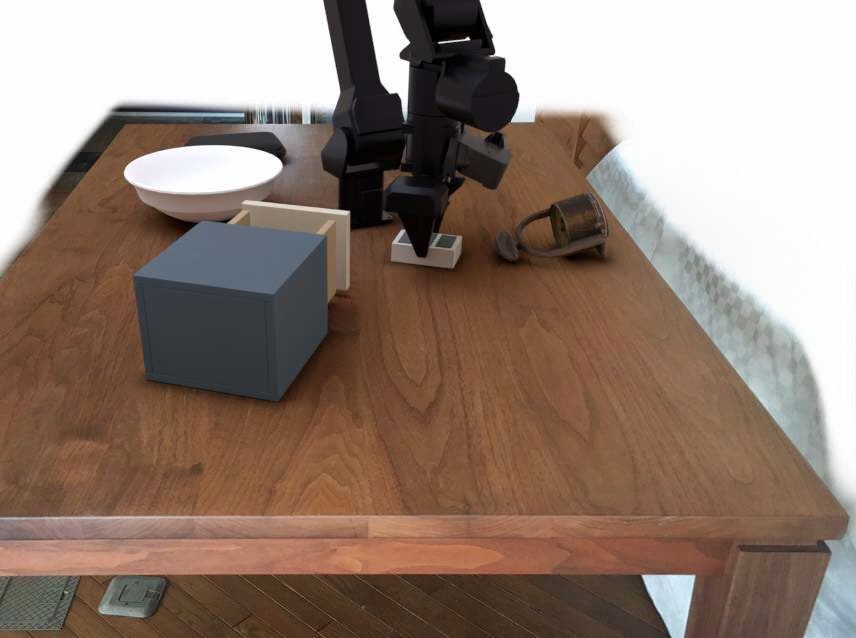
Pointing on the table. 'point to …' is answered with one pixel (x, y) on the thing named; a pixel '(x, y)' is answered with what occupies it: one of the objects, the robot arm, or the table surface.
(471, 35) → the robot arm
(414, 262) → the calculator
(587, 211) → the brass cylinder with loop
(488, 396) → the table surface
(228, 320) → the cabinet
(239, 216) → the drawer
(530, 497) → the table surface
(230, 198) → the bowl
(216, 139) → the carrying case
